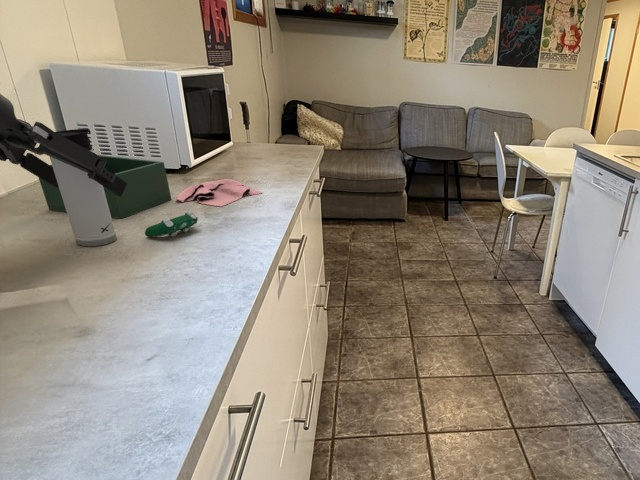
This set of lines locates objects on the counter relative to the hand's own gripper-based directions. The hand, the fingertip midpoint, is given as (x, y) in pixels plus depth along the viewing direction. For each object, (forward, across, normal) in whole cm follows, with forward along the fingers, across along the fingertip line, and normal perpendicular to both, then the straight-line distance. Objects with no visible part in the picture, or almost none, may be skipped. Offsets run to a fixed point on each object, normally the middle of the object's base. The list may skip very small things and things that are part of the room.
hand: (90, 185), depth 85 cm
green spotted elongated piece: (+12, +9, -2) cm, 16 cm away
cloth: (+32, -2, +17) cm, 36 cm away
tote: (+19, -16, +5) cm, 25 cm away
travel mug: (+6, 0, -8) cm, 10 cm away
